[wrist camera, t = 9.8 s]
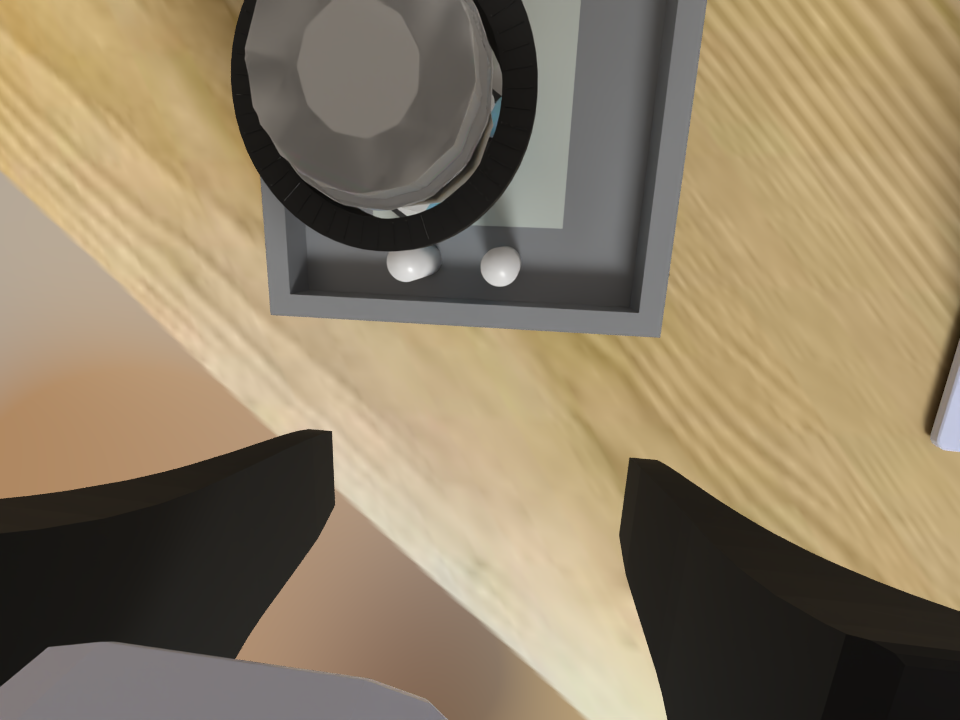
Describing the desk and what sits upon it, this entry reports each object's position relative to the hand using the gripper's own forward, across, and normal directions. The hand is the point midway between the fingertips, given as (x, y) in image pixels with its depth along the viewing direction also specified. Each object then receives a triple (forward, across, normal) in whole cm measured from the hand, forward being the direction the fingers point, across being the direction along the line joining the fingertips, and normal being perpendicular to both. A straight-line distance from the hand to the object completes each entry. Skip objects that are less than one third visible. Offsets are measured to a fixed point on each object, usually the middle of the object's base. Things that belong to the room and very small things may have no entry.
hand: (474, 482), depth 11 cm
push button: (+8, +1, -8) cm, 12 cm away
